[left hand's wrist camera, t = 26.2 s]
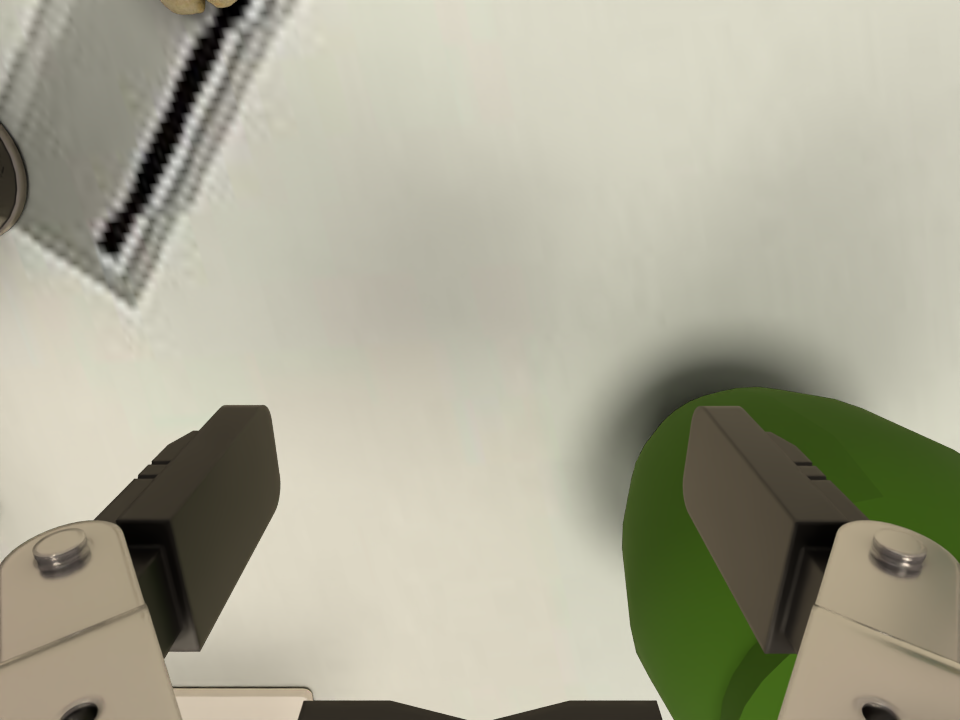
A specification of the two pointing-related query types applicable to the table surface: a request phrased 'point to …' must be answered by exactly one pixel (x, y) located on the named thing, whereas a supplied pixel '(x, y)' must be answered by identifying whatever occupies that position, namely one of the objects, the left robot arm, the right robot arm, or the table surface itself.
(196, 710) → the tablet stand
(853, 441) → the vase
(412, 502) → the table surface
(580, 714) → the left robot arm
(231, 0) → the sculpture
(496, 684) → the table surface
